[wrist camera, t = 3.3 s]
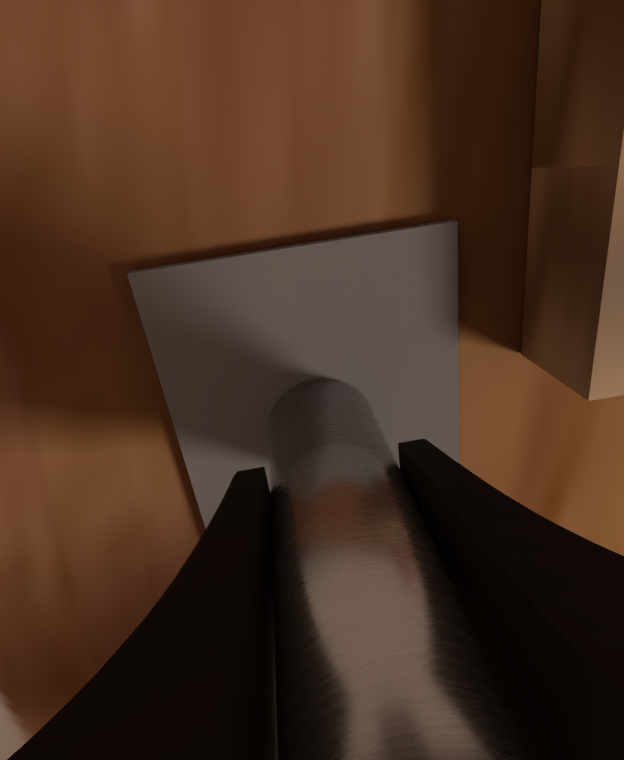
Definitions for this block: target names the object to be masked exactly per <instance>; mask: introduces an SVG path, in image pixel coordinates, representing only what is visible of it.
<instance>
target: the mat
mask: <svg viewBox="0 0 624 760" xmlns="http://www.w3.org/2000/svg"><path fill="white" fill-rule="evenodd" d="M127 276H128V280H129V283H130V286H131V289H132V293H133V296H134V299H135V302H136V305H137V309H138V312H139V315H140V318H141V322H142V325H143V328H144V331H145V335H146V338H147V341H148V344H149V348H150V351H151V354H152V357H153V361H154V364H155V367H156V370H157V373H158V377H159V380H160V383H161V386H162V390H163V393H164V396H165V399H166V403H167V406H168V409H169V412H170V416H171V419H172V422H173V425H174V429H175V432H176V435H177V438H178V441H179V445H180V448H181V451H182V454H183V458H184V461H185V464H186V467H187V471H188V474H189V477H190V480H191V484H192V487H193V490H194V493H195V496H196V500H197V503H198V506H199V509H200V513H201V516H202V519H203V522H204V526H205V529H206V528H207V526H208V524H209V523H210V521H211V519H212V518H213V516H214V514H215V512H216V510H217V508H218V506H219V505H220V503H221V501H222V499H223V497H224V495H225V493H226V491H227V489H228V487H229V485H230V483H231V480H232V478H233V476H234V475H235V474H236V472H237V471H242V470H247V469H253V468H259V467H265V472H266V476H267V481H268V485H269V490H270V465H269V430H268V429H269V419H270V415H271V412H272V410H273V408H274V406H275V404H276V403H277V401H278V400H279V399H280V398H281V397H282V395H283V394H285V393H286V392H287V391H288V390H290V389H291V388H293V387H294V386H296V385H298V384H300V383H303V382H306V381H309V380H313V379H321V378H324V379H336V380H340V381H343V382H345V383H348V384H350V385H352V386H353V387H355V388H356V389H358V390H359V391H360V392H361V393H362V394H363V395H364V396H365V398H366V399H367V401H368V402H369V404H370V406H371V408H372V411H373V413H374V415H375V417H376V419H377V421H378V423H379V426H380V428H381V430H382V432H383V434H384V436H385V438H386V441H387V443H388V445H389V447H390V449H391V451H392V453H393V456H394V458H395V460H396V462H397V464H398V466H399V468H400V465H399V451H398V443H401V442H407V441H413V440H418V439H424V438H425V439H426V440H427V441H429V442H430V443H432V444H433V445H434V446H436V447H437V448H438V449H440V450H441V451H443V452H444V453H445V454H447V455H448V456H449V457H451V458H452V459H453V460H455V461H456V462H458V463H459V358H458V221H456V220H452V219H451V220H445V221H438V222H432V223H426V224H420V225H413V226H407V227H401V228H394V229H388V230H382V231H376V232H369V233H363V234H357V235H351V236H344V237H338V238H332V239H325V240H319V241H313V242H307V243H300V244H294V245H288V246H282V247H275V248H269V249H263V250H257V251H250V252H244V253H238V254H231V255H225V256H219V257H213V258H206V259H200V260H194V261H188V262H181V263H175V264H169V265H162V266H156V267H150V268H144V269H137V270H131V271H130V272H128V273H127Z"/></svg>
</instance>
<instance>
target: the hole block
mask: <svg viewBox="0 0 624 760" xmlns="http://www.w3.org/2000/svg"><path fill="white" fill-rule="evenodd" d="M521 354H522V355H523V356H525V357H526V358H528V359H529V360H530V361H532V362H533V363H535V364H536V365H538V366H539V367H540V368H542V369H543V370H545V371H546V372H548V373H549V374H551V375H552V376H553V377H555V378H556V379H558V380H559V381H561V382H562V383H563V384H565V385H566V386H568V387H569V388H571V389H572V390H573V391H575V392H576V393H578V394H579V395H581V396H582V397H583V398H585V399H586V400H588V401H591V400H597V399H602V398H608V397H614V396H620V395H624V0H541V14H540V32H539V49H538V66H537V84H536V101H535V119H534V136H533V154H532V171H531V188H530V206H529V223H528V241H527V258H526V276H525V293H524V310H523V328H522V345H521Z"/></svg>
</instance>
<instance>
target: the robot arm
mask: <svg viewBox="0 0 624 760" xmlns="http://www.w3.org/2000/svg"><path fill="white" fill-rule="evenodd" d="M398 451H399V465H400V470H401V473H402V475H403V477H404V479H405V481H406V483H407V485H408V488H409V490H410V492H411V494H412V496H413V498H414V500H415V503H416V505H417V507H418V509H419V511H420V513H421V515H422V518H423V520H424V522H425V524H426V526H427V528H428V530H429V533H430V535H431V537H432V539H433V541H434V543H435V545H436V547H437V550H438V552H439V554H440V556H441V558H442V560H443V562H444V565H445V567H446V569H447V571H448V573H449V575H450V577H451V580H452V582H453V584H454V586H455V588H456V590H457V592H458V595H459V597H460V599H461V601H462V603H463V605H464V607H465V610H466V612H467V614H468V616H469V618H470V620H471V622H472V624H473V627H474V629H475V631H476V633H477V635H478V637H479V639H480V642H481V644H482V646H483V648H484V650H485V652H486V654H487V657H488V659H489V661H490V663H491V665H492V667H493V669H494V672H495V674H496V676H497V678H498V680H499V682H500V684H501V687H502V689H503V691H504V693H505V695H506V697H507V699H508V701H509V704H510V706H511V708H512V710H513V712H514V714H515V716H516V719H517V721H518V723H519V725H520V727H521V729H522V731H523V734H524V736H525V738H526V740H527V742H528V744H529V746H530V749H531V751H532V753H533V755H534V757H535V759H536V760H624V556H622V555H620V554H617V553H615V552H613V551H610V550H608V549H606V548H604V547H602V546H600V545H597V544H595V543H593V542H591V541H589V540H587V539H585V538H583V537H581V536H579V535H577V534H575V533H573V532H571V531H569V530H567V529H565V528H563V527H561V526H559V525H557V524H555V523H553V522H551V521H549V520H548V519H546V518H544V517H542V516H540V515H538V514H537V513H535V512H533V511H532V510H530V509H528V508H527V507H525V506H523V505H521V504H520V503H518V502H516V501H515V500H513V499H511V498H510V497H508V496H506V495H505V494H503V493H502V492H500V491H499V490H497V489H495V488H494V487H492V486H491V485H489V484H488V483H486V482H485V481H483V480H482V479H480V478H479V477H477V476H476V475H474V474H473V473H472V472H470V471H469V470H467V469H466V468H465V467H463V466H462V465H460V464H459V463H458V462H456V461H455V460H453V459H452V458H451V457H449V456H448V455H447V454H445V453H444V452H443V451H441V450H440V449H438V448H437V447H436V446H434V445H433V444H432V443H430V442H429V441H427V440H426V439H425V438H424V439H418V440H413V441H407V442H401V443H398ZM7 760H278V740H277V706H276V672H275V637H274V603H273V568H272V534H271V495H270V490H269V485H268V481H267V476H266V472H265V467H259V468H253V469H247V470H242V471H237V472H236V474H235V475H234V476H233V478H232V480H231V483H230V485H229V487H228V489H227V491H226V493H225V495H224V497H223V499H222V501H221V503H220V505H219V506H218V508H217V510H216V512H215V514H214V516H213V518H212V519H211V521H210V523H209V524H208V526H207V528H206V530H205V531H204V533H203V535H202V537H201V538H200V540H199V542H198V543H197V545H196V547H195V548H194V550H193V551H192V553H191V554H190V556H189V557H188V559H187V560H186V562H185V563H184V565H183V567H182V568H181V570H180V571H179V573H178V574H177V576H176V577H175V579H174V580H173V581H172V583H171V584H170V586H169V587H168V588H167V590H166V591H165V593H164V594H163V595H162V597H161V598H160V599H159V601H158V602H157V603H156V604H155V606H154V607H153V608H152V610H151V611H150V612H149V613H148V615H147V616H146V617H145V619H144V620H143V621H142V622H141V624H140V625H139V626H138V627H137V628H136V629H135V631H134V632H133V633H132V634H131V635H130V636H129V638H128V639H127V640H126V641H125V642H124V643H123V645H122V646H121V647H120V648H119V649H118V650H117V651H116V652H115V654H114V655H113V656H112V657H111V658H110V659H109V660H108V661H107V663H106V664H105V665H104V666H103V667H102V668H101V669H100V670H99V672H98V673H97V674H96V675H95V676H94V677H93V678H92V679H91V680H90V681H89V682H88V683H87V684H86V685H85V686H84V687H83V688H82V689H81V690H80V691H79V692H78V693H77V694H76V695H75V696H74V697H73V698H72V699H71V700H70V701H69V702H68V703H67V704H66V705H65V706H64V707H63V708H62V709H61V710H60V711H59V712H58V713H57V714H56V715H55V716H54V717H53V718H52V719H51V720H50V721H49V722H48V723H47V724H46V725H45V726H43V727H42V728H41V729H40V730H39V731H38V732H37V733H36V734H35V735H34V736H33V737H32V738H31V739H30V740H29V741H27V742H26V743H25V744H24V745H23V746H22V747H21V748H20V749H19V750H18V751H16V752H15V753H14V754H13V755H12V756H11V757H10V758H9V759H7Z"/></svg>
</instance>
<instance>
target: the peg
mask: <svg viewBox="0 0 624 760" xmlns="http://www.w3.org/2000/svg"><path fill="white" fill-rule="evenodd" d="M268 430H269V465H270V495H271V534H272V568H273V603H274V637H275V672H276V706H277V740H278V760H536V759H535V757H534V755H533V753H532V751H531V749H530V746H529V744H528V742H527V740H526V738H525V736H524V734H523V731H522V729H521V727H520V725H519V723H518V721H517V719H516V716H515V714H514V712H513V710H512V708H511V706H510V704H509V701H508V699H507V697H506V695H505V693H504V691H503V689H502V687H501V684H500V682H499V680H498V678H497V676H496V674H495V672H494V669H493V667H492V665H491V663H490V661H489V659H488V657H487V654H486V652H485V650H484V648H483V646H482V644H481V642H480V639H479V637H478V635H477V633H476V631H475V629H474V627H473V624H472V622H471V620H470V618H469V616H468V614H467V612H466V610H465V607H464V605H463V603H462V601H461V599H460V597H459V595H458V592H457V590H456V588H455V586H454V584H453V582H452V580H451V577H450V575H449V573H448V571H447V569H446V567H445V565H444V562H443V560H442V558H441V556H440V554H439V552H438V550H437V547H436V545H435V543H434V541H433V539H432V537H431V535H430V533H429V530H428V528H427V526H426V524H425V522H424V520H423V518H422V515H421V513H420V511H419V509H418V507H417V505H416V503H415V500H414V498H413V496H412V494H411V492H410V490H409V488H408V485H407V483H406V481H405V479H404V477H403V475H402V473H401V470H400V468H399V466H398V464H397V462H396V460H395V458H394V456H393V453H392V451H391V449H390V447H389V445H388V443H387V441H386V438H385V436H384V434H383V432H382V430H381V428H380V426H379V423H378V421H377V419H376V417H375V415H374V413H373V411H372V408H371V406H370V404H369V402H368V401H367V399H366V398H365V396H364V395H363V394H362V393H361V392H360V391H359V390H358V389H356V388H355V387H353V386H352V385H350V384H348V383H345V382H343V381H340V380H336V379H324V378H321V379H313V380H309V381H306V382H303V383H300V384H298V385H296V386H294V387H293V388H291V389H290V390H288V391H287V392H286V393H285V394H283V395H282V397H281V398H280V399H279V400H278V401H277V403H276V404H275V406H274V408H273V410H272V412H271V415H270V419H269V429H268Z"/></svg>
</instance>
